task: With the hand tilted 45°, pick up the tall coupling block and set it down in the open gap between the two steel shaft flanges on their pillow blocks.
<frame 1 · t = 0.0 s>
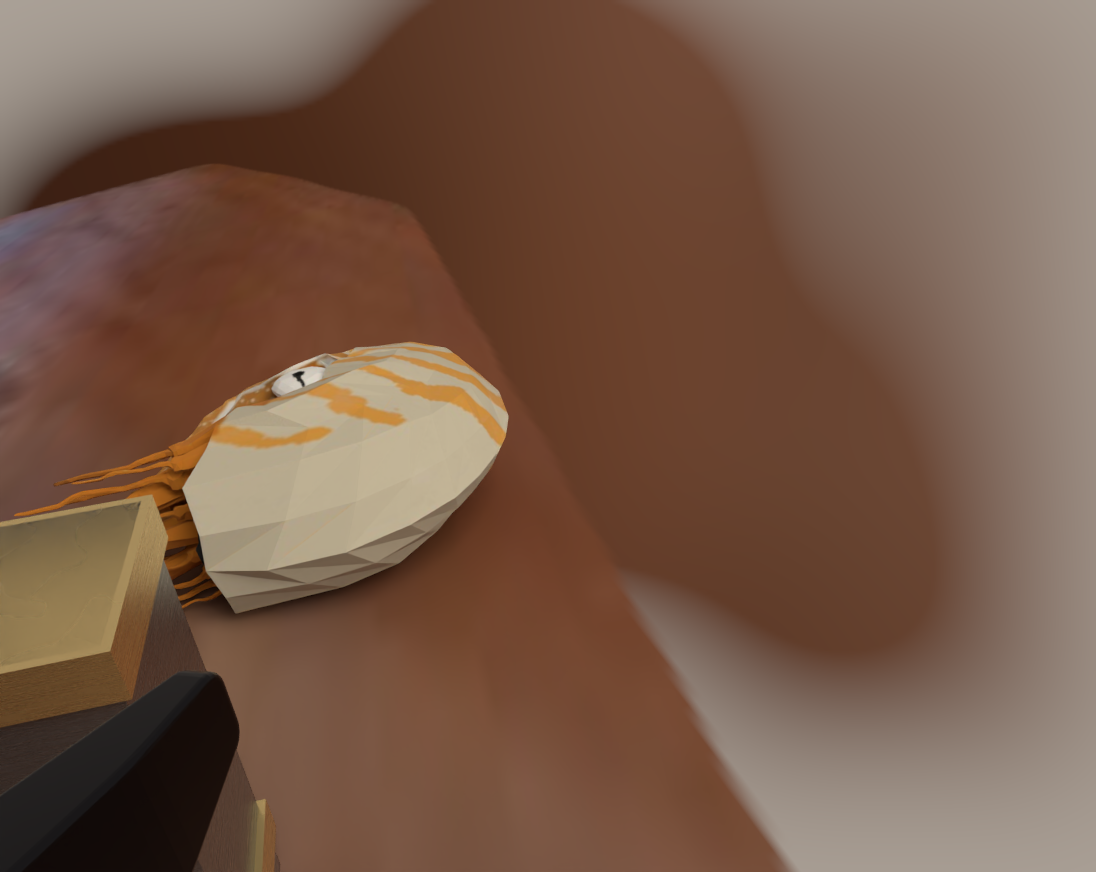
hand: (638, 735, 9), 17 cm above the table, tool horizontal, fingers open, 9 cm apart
nautilus: (288, 549, 40), on the table
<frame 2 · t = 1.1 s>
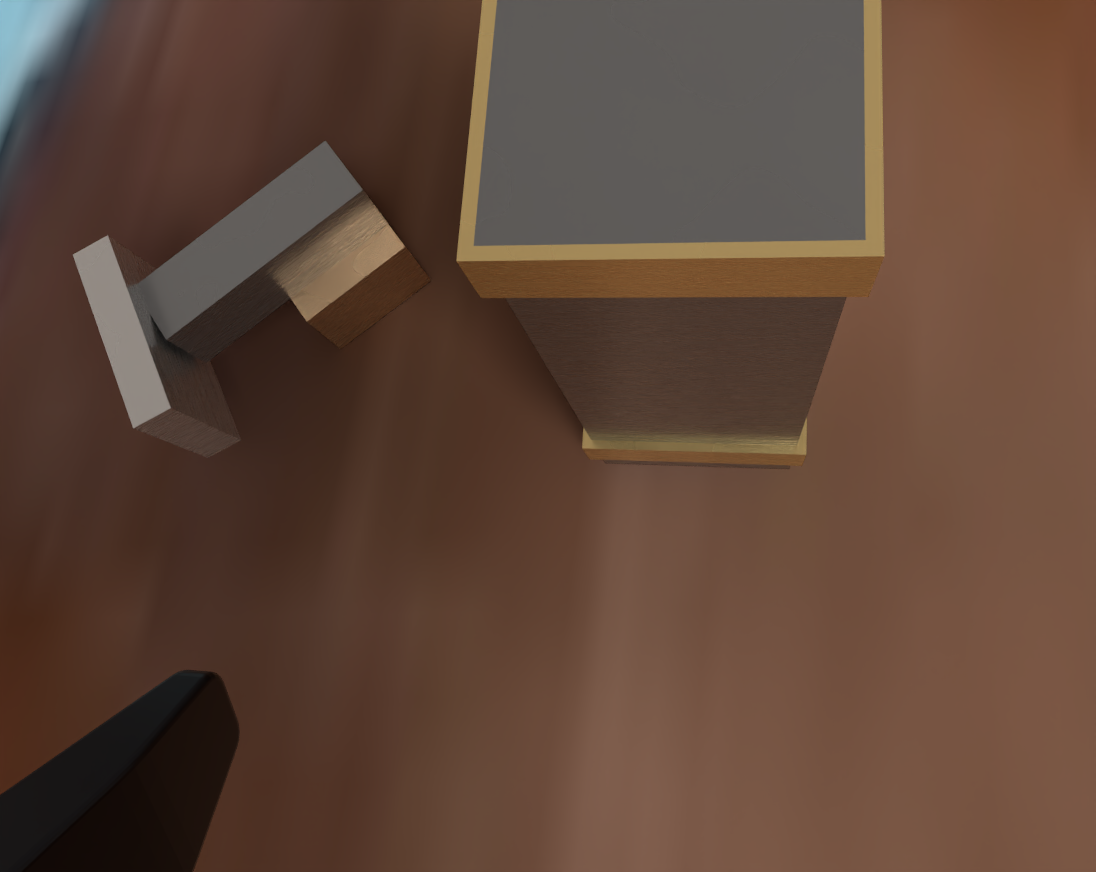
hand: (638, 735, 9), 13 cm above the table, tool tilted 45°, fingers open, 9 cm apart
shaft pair: (88, 511, 26), on the table
coupling block: (698, 379, 24), on the table
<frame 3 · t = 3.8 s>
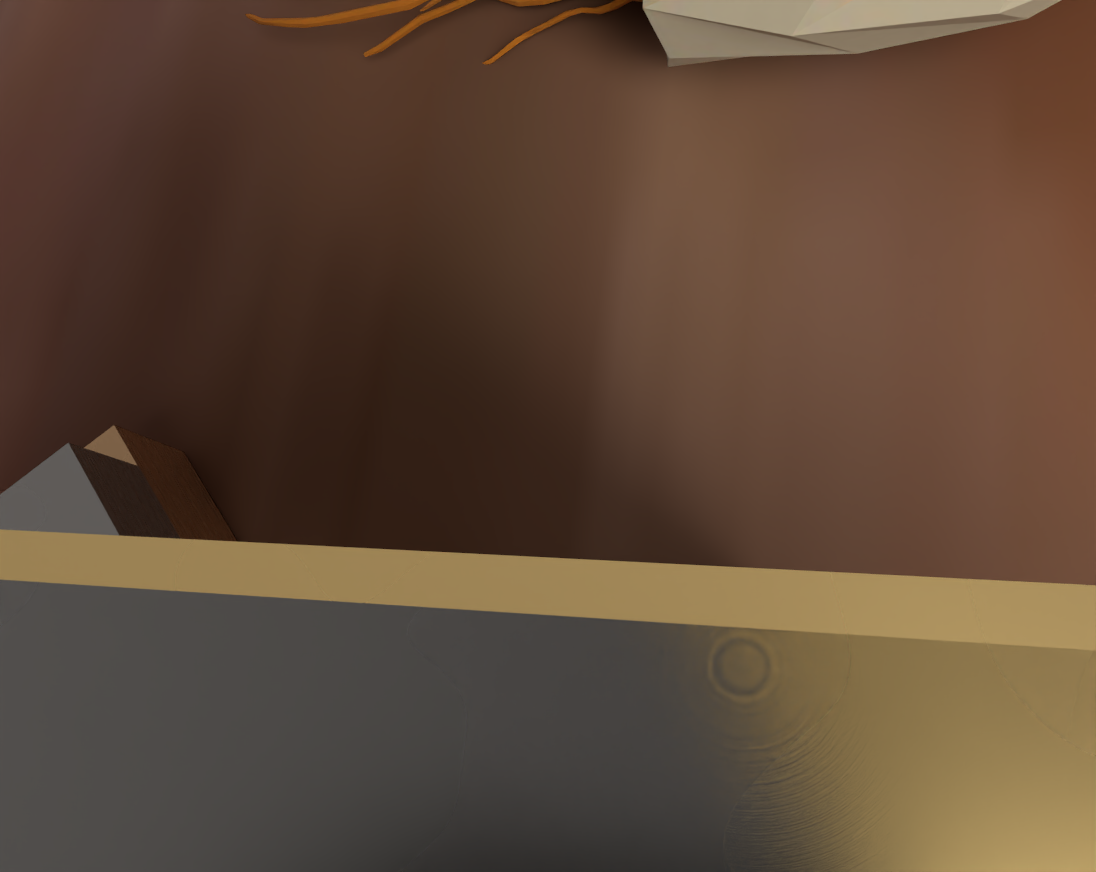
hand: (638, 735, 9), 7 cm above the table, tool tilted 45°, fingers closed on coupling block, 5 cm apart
coupling block: (668, 796, 15), on the table, touching gripper
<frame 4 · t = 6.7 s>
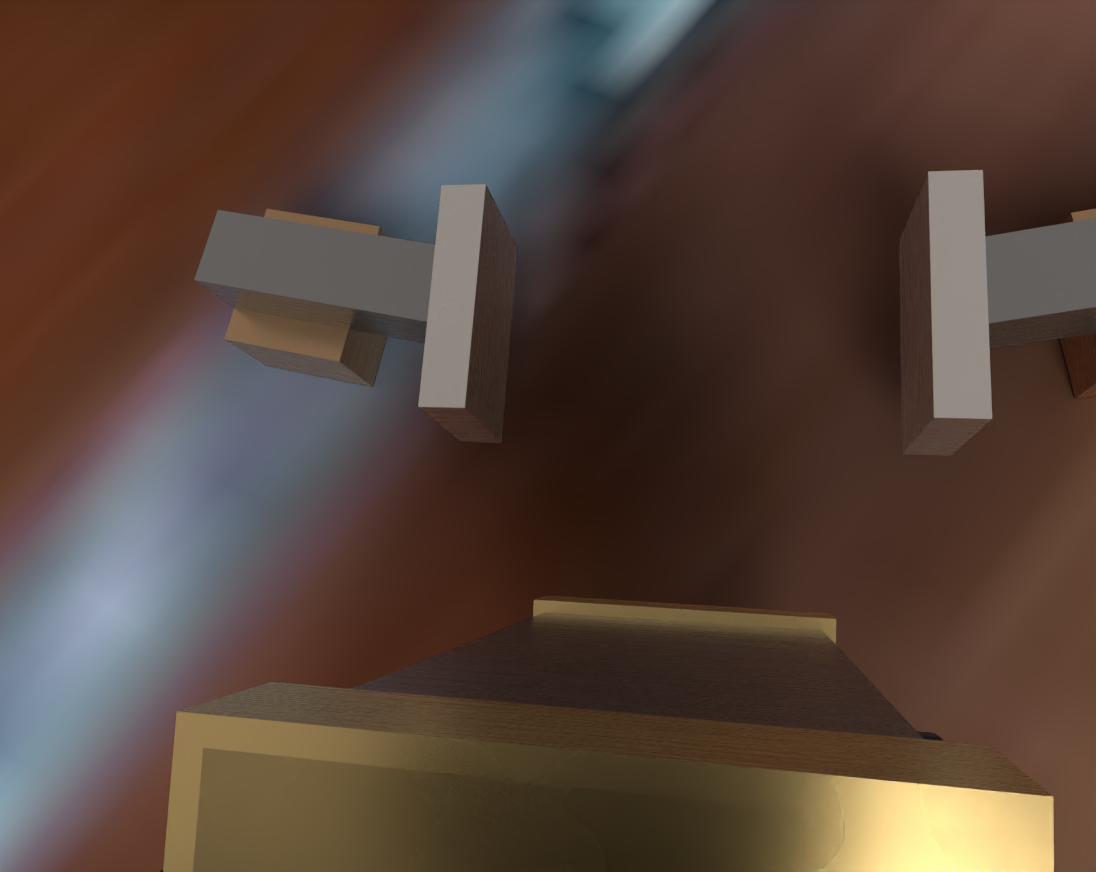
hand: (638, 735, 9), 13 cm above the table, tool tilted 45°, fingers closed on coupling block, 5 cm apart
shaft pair: (696, 421, 23), on the table
coupling block: (683, 730, 18), point 4 cm above the table, tilted 7°, touching gripper
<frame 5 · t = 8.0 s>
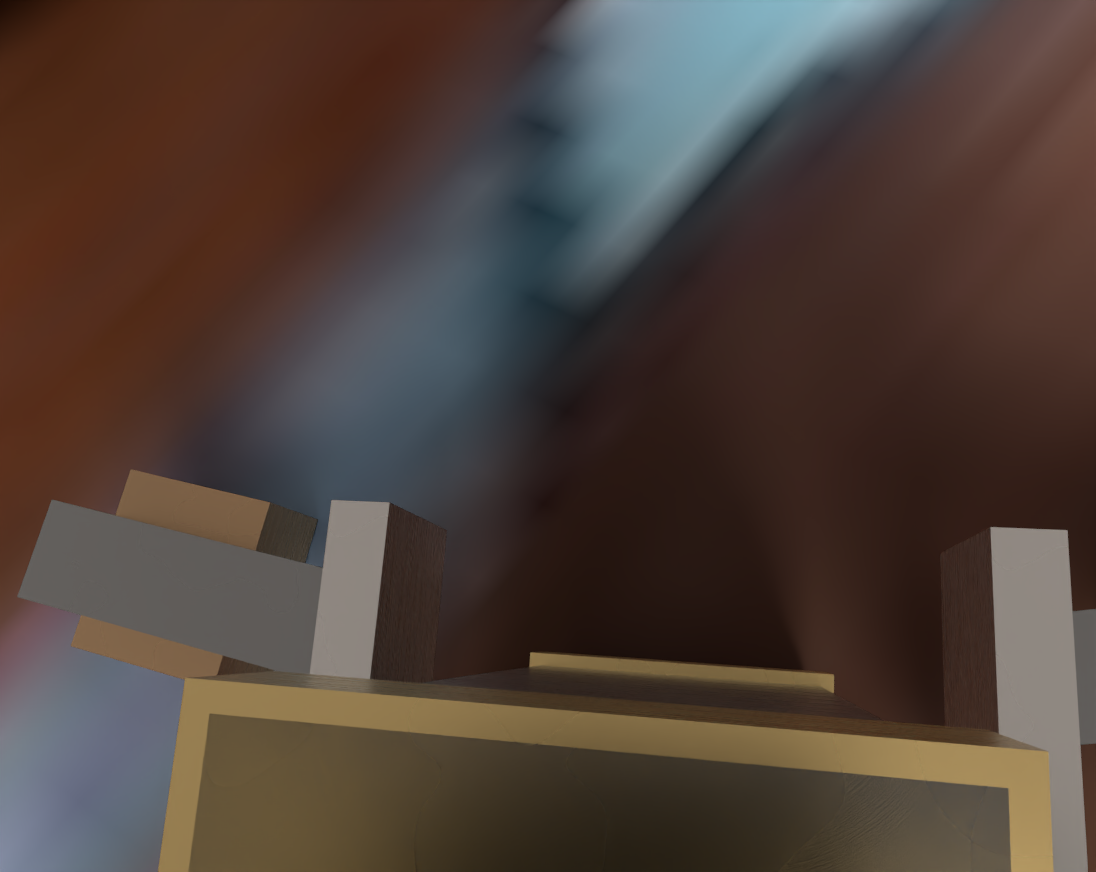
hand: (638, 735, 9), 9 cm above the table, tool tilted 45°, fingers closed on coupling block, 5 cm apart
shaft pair: (676, 761, 17), on the table
coupling block: (680, 796, 17), on the table, touching gripper
when the fingers open (9 cm above the table, at t = 8.5 s): coupling block stays where it is, on the table.
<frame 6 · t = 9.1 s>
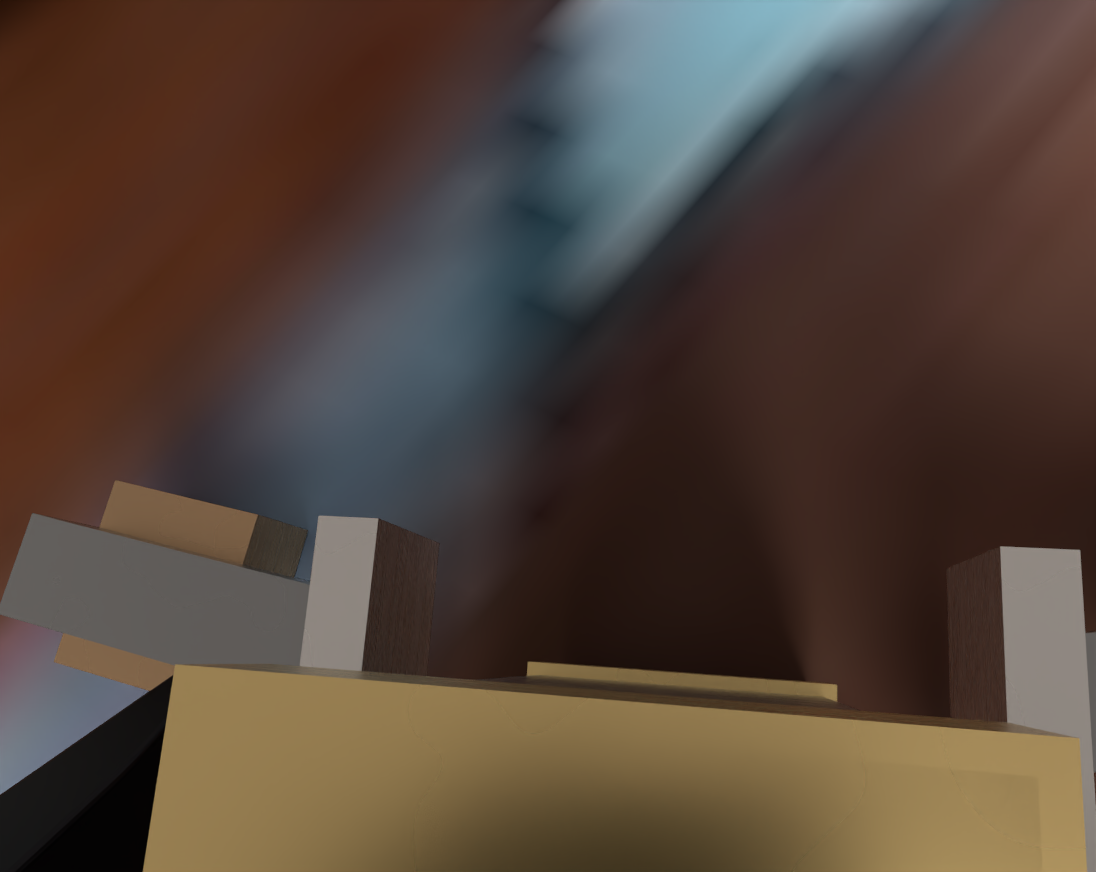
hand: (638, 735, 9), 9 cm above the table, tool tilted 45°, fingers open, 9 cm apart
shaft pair: (675, 780, 17), on the table
coupling block: (679, 810, 17), on the table
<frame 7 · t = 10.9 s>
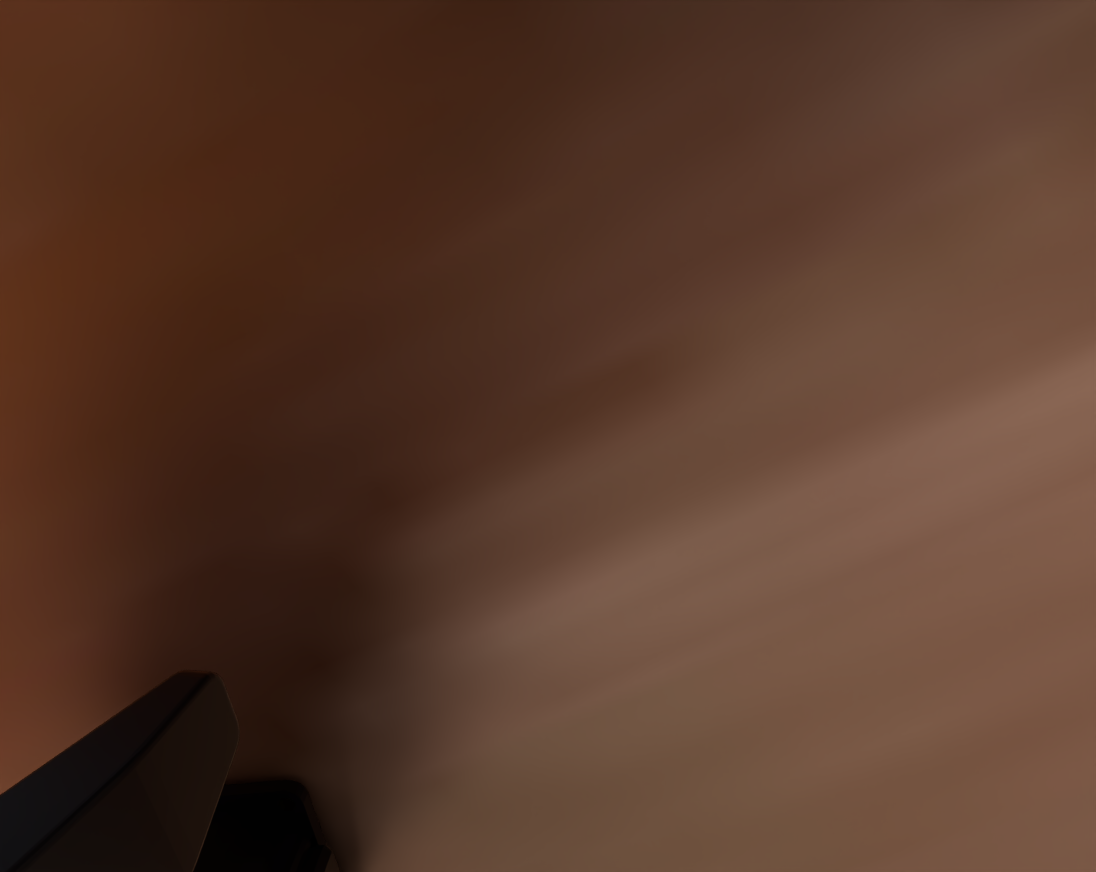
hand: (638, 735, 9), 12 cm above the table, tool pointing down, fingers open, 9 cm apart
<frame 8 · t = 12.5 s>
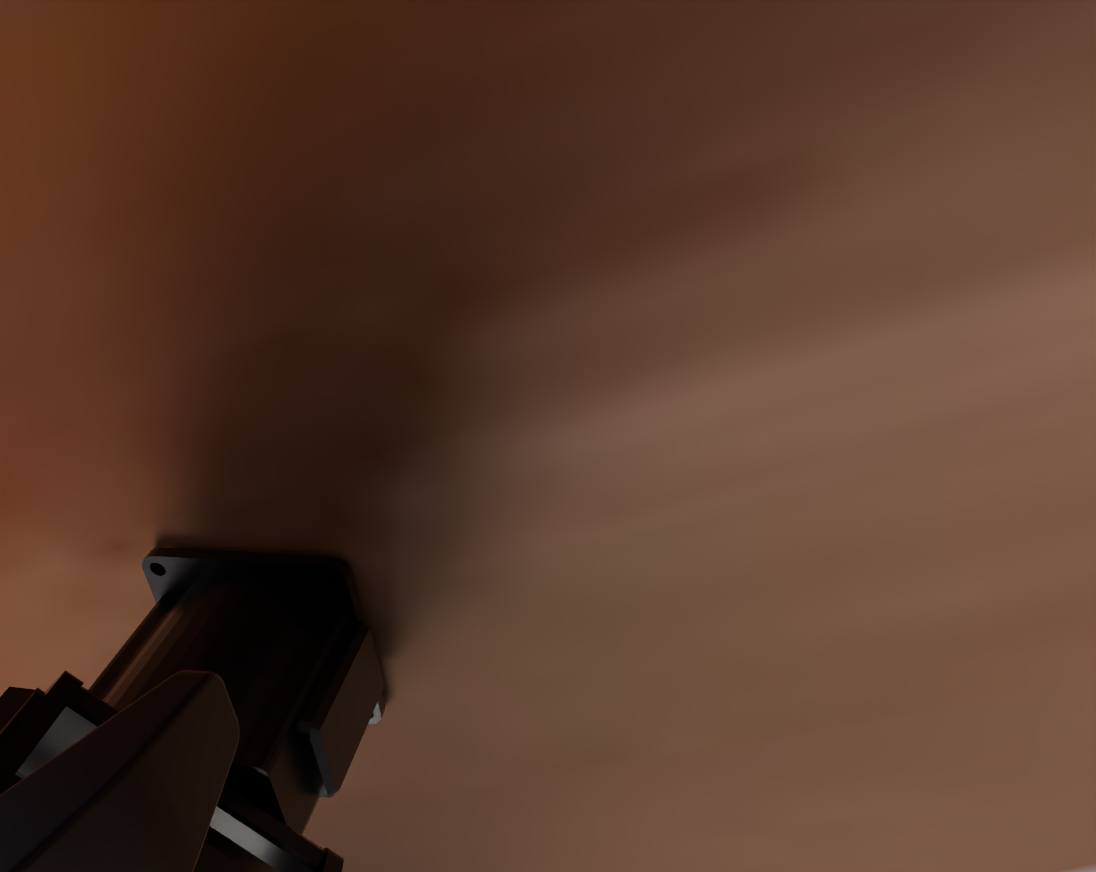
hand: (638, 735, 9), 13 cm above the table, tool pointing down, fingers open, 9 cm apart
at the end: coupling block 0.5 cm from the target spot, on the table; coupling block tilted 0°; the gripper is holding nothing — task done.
